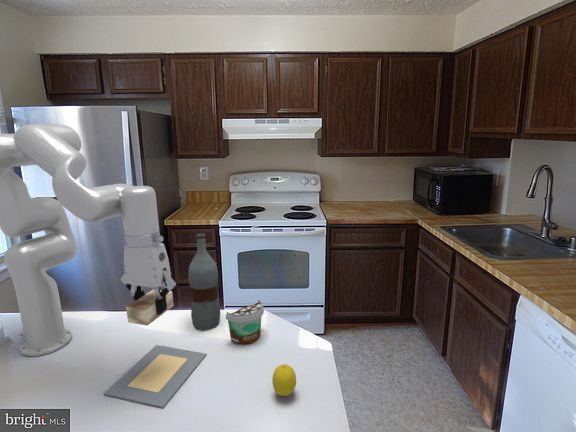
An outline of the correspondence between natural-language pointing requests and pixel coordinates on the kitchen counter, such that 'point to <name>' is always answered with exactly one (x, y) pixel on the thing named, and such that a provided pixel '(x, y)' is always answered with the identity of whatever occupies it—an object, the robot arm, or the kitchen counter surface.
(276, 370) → the lemon
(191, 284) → the bottle
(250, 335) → the food container
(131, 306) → the birch block
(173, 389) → the mat
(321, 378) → the kitchen counter surface
